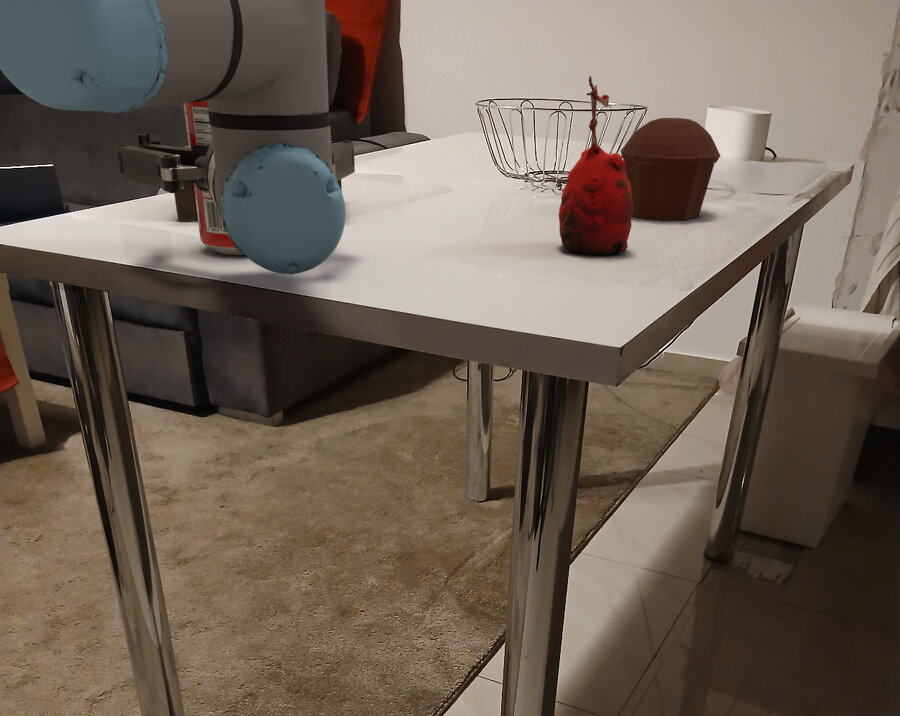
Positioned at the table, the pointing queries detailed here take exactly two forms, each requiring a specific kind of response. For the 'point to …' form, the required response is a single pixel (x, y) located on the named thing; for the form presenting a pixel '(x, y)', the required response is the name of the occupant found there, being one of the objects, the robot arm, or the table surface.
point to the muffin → (669, 168)
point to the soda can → (206, 209)
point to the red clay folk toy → (596, 198)
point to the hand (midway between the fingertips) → (231, 148)
